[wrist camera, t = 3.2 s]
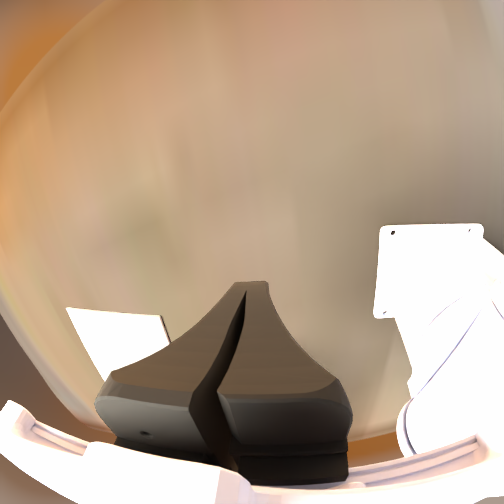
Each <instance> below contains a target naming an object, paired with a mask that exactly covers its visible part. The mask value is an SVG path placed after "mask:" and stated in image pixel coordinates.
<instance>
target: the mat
mask: <svg viewBox="0 0 504 504" xmlns="http://www.w3.org/2000/svg"><path fill="white" fill-rule="evenodd" d="M66 309H67V311H68V313H69V316H70V318H71V320H72V322H73V324H74V326H75V328H76V330H77V332H78V334H79V336H80V338H81V340H82V342H83V344H84V346H85V348H86V350H87V351H88V353H89V355H90V357H91V359H92V360H93V362H94V364H95V366H96V367H97V369H98V371H99V373H100V374H101V376H102V378H103V379H104V381H106V379H107V377H108V375H109V374H110V372H111V371H113V370H116V369H119V368H121V367H124V366H126V365H129V364H132V363H134V362H137V361H139V360H141V359H143V358H145V357H147V356H149V355H151V354H153V353H155V352H157V351H159V350H160V349H162V348H164V347H165V346H167V345H168V344H170V341H169V339H168V336H167V333H166V330H165V327H164V325H163V322H162V319H161V316H160V315H145V314H131V313H119V312H108V311H98V310H88V309H79V308H71V307H67V308H66Z"/></svg>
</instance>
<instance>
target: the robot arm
mask: <svg viewBox="0 0 504 504" xmlns="http://www.w3.org/2000/svg"><path fill="white" fill-rule="evenodd" d="M469 228H471V230H470V232H468V230H469ZM392 230H395V231H396V232H395V234H394V235H391V234H390V233H391V231H392ZM483 231H484V228H483V226H482V225H481V224H425V225H389V226H384V227H382V228H381V230H380V242H379V259H378V273H377V284H376V294H375V303H374V311H373V312H374V316H375V317H376V318H388V317H395V320H396V322H397V325H398V328H399V330H400V333H401V336H402V339H403V342H404V345H405V348H406V351H407V353H408V357H409V360H410V363H411V366H412V369H413V373H412V376H411V378H410V380H409V381H408V387H409V390H410V394H411V398H412V399H410V400H409V401H408V402H407V403H406V404H405V405H404V407H403V408H402V410H401V412H400V414H399V417H398V420H397V437H398V441H399V445H400V447H401V450H402V452H403V454H404V456H405V457H404V458H400V459H395V460H391V461H386V462H382V463H377V464H371V465H366V466H360V467H353V468H348V461H347V451H348V443H347V436H348V433H349V430H350V427H351V424H352V418H353V414H352V409H351V406H350V403H349V400H348V398H347V395H346V393H345V391H344V389H343V387H342V385H341V383H340V381H339V380H338V379H337V378H336V377H334V376H333V375H332V374H330V373H329V372H327V371H326V370H325V369H324V368H322V367H321V366H320V365H319V364H318V363H316V362H315V361H314V360H313V359H312V358H311V357H310V356H309V355H308V354H307V353H306V352H305V351H304V350H303V349H302V348H301V347H300V346H299V345H298V343H297V342H296V341H295V340H294V338H293V337H292V336H291V334H290V333H289V332H288V330H287V329H286V327H285V326H284V324H283V323H282V321H281V319H280V317H279V316H278V314H277V312H276V310H275V307H274V305H273V303H272V300H271V298H270V294H269V286H268V283H267V282H266V281H254V282H235V283H234V284H233V285H232V286H231V288H230V289H229V290H228V291H227V292H226V294H225V295H224V296H223V297H222V298H221V299H220V301H219V302H218V303H217V304H216V305H215V306H214V307H213V308H212V309H211V310H210V311H209V313H207V314H206V315H205V316H204V317H203V318H202V319H201V320H200V321H199V322H198V323H197V324H196V325H195V326H194V327H192V328H191V329H190V330H189V331H187V332H186V333H185V334H183V335H182V336H181V337H179V338H178V339H176V340H175V341H173V342H172V343H170V344H168V345H167V346H165V347H164V348H162V349H160V350H159V351H157V352H155V353H153V354H151V355H149V356H147V357H145V358H143V359H141V360H139V361H137V362H134V363H132V364H129V365H126V366H124V367H121V368H119V369H116V370H113V371H111V372H110V374H109V375H108V377H107V379H106V381H105V383H104V384H103V386H102V388H101V390H100V392H99V394H98V395H97V397H96V399H95V403H94V405H95V409H96V411H97V413H98V414H99V416H100V417H101V419H102V420H103V421H104V422H105V424H106V425H107V426H108V427H109V428H110V429H111V431H112V432H113V433H114V434H115V435H116V436H117V439H116V441H115V443H114V445H112V444H107V443H102V442H92V443H89V442H87V441H84V440H81V439H78V438H76V437H73V436H71V435H68V434H66V433H63V432H61V431H58V430H56V429H54V428H52V427H49V426H47V425H45V424H43V423H41V422H38V421H36V420H35V418H34V417H33V416H32V414H31V413H29V411H27V410H26V409H25V408H24V407H22V406H21V405H18V404H17V403H15V402H13V401H11V400H8V402H7V403H6V405H5V407H4V408H3V409H2V411H1V412H0V452H1V453H2V454H3V455H4V456H5V457H7V458H8V459H9V460H10V461H11V462H13V463H14V464H15V465H16V466H18V467H19V468H20V469H22V470H23V471H25V472H26V473H28V474H29V475H31V476H32V477H34V478H35V479H37V480H38V481H40V482H42V483H43V484H45V485H46V486H48V487H50V488H51V489H53V490H55V491H57V492H58V493H60V494H62V495H64V496H65V497H67V498H69V499H71V500H73V501H75V502H77V503H79V504H474V503H475V502H477V501H479V500H481V499H483V498H485V497H493V496H504V255H503V254H502V253H500V252H499V251H498V250H497V249H496V248H495V247H493V246H492V245H491V244H490V243H488V242H487V241H486V240H485V239H483ZM384 311H387V312H386V313H383V312H384Z"/></svg>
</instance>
